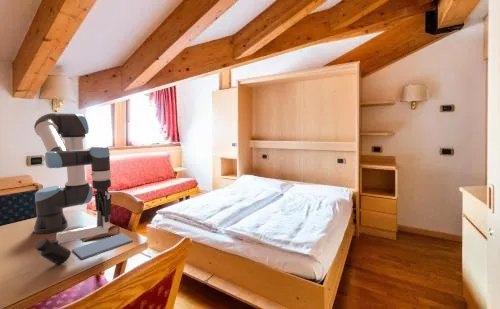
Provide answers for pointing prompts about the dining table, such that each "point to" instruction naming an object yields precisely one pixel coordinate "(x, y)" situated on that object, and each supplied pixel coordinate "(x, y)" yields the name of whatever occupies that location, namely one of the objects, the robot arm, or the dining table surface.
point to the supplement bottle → (53, 251)
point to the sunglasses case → (111, 232)
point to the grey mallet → (83, 231)
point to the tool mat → (101, 246)
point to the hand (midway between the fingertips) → (104, 227)
